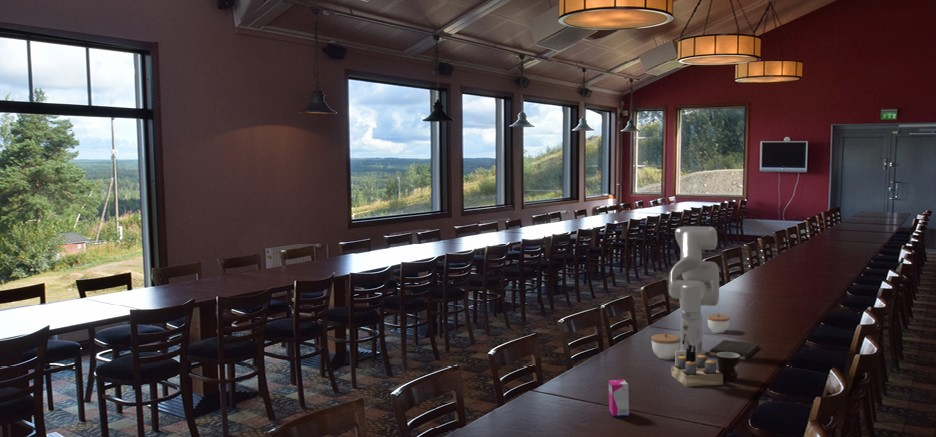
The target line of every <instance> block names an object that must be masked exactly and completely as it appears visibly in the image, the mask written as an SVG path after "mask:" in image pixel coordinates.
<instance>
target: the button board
mask: <svg viewBox="0 0 936 437" xmlns="http://www.w3.org/2000/svg"><path fill="white" fill-rule="evenodd" d="M670 367H671V368H670V369H671V370H670V371H671V372H670V374H671V376H672V377H673V378H674V379H676V381H678V382H680V383H681V385H684V386H685V387H699V386H701V387H703V386H718V385H719V386H720V385H723V384H724V381H723V374H721V373H720V372H719V370H717V369H716V374H709V375H707V374H705V368H703V369H698V368H697V367H696V375H691V376H687V375H686V374H685V369H684V370H679V369H678V368H677V365H675V364H674V365H671V366H670Z"/></svg>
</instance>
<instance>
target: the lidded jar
mask: <svg viewBox="0 0 936 437" xmlns="http://www.w3.org/2000/svg"><path fill="white" fill-rule="evenodd" d="M706 319H707V326H708V328H709V329H710V331H711V332H712V333H715V334H723V333H725V332H726V331H728V329H729V327H730V326H729V325H730V316H729V315H724V314H720V313H717V314H710V315H708V316H707V317H706Z"/></svg>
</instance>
